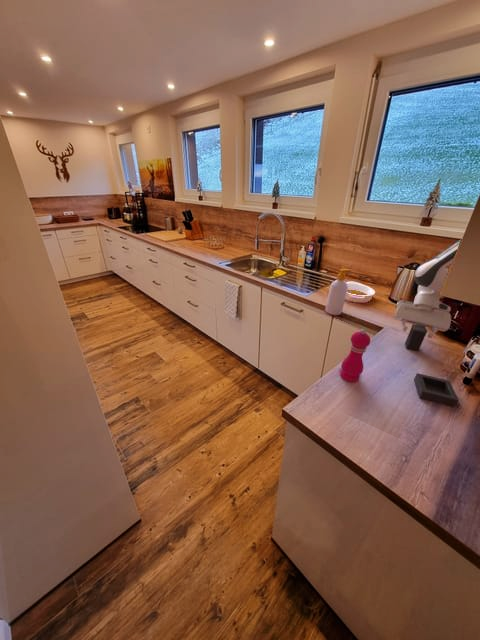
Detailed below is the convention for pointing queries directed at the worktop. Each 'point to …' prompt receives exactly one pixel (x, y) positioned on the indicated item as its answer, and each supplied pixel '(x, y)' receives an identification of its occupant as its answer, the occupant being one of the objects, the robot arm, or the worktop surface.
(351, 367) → the pepper mill
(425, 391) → the base pad
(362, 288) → the white oval dish
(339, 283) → the soap bottle
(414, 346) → the dark grey block
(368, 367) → the worktop surface
